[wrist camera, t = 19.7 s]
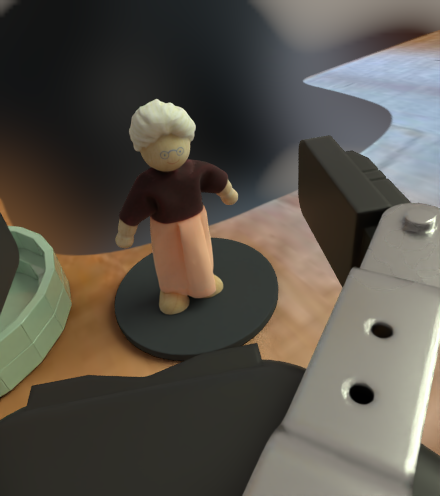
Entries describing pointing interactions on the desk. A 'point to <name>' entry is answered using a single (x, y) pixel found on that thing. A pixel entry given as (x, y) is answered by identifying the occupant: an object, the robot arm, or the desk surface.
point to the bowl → (31, 309)
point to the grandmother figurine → (173, 205)
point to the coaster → (199, 306)
